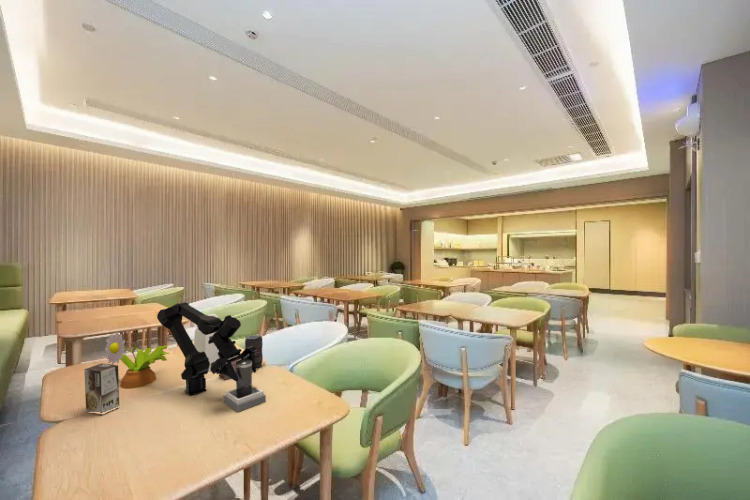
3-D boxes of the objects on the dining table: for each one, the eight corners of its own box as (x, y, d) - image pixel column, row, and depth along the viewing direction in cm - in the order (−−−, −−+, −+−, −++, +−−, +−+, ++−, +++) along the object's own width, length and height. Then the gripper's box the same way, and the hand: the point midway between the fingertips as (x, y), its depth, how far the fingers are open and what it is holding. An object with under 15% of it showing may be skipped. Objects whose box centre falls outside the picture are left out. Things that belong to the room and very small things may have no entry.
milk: (216, 361, 178) (215, 311, 178) (228, 365, 171) (227, 314, 171) (193, 368, 168) (191, 315, 168) (205, 373, 162) (203, 318, 161)
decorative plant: (93, 388, 146) (91, 330, 146) (149, 368, 168) (147, 318, 168) (135, 397, 136) (133, 335, 136) (188, 375, 158) (187, 322, 158)
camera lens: (265, 364, 172) (265, 334, 172) (258, 370, 164) (257, 339, 164) (250, 363, 173) (249, 334, 173) (242, 369, 165) (241, 339, 165)
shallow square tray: (237, 412, 123) (237, 400, 122) (223, 402, 131) (223, 391, 131) (265, 401, 131) (265, 390, 131) (250, 392, 139) (250, 382, 139)
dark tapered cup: (236, 399, 127) (235, 365, 127) (236, 393, 132) (235, 360, 132) (252, 397, 129) (252, 363, 129) (252, 391, 134) (251, 358, 134)
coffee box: (120, 407, 128) (119, 365, 127) (101, 416, 122) (100, 371, 121) (103, 404, 131) (102, 362, 130) (84, 412, 125) (83, 368, 124)
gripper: (232, 350, 145) (253, 380, 141) (193, 365, 128) (216, 399, 124) (246, 333, 142) (268, 363, 138) (208, 346, 125) (231, 380, 120)
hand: (246, 376), depth 130 cm, fingers open, 9 cm apart
